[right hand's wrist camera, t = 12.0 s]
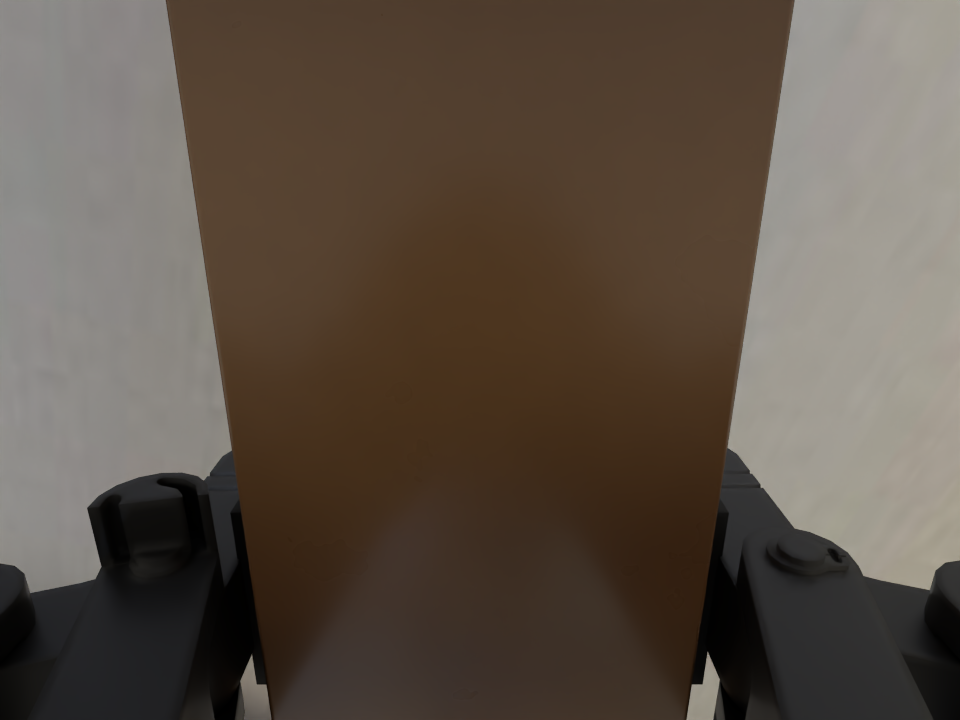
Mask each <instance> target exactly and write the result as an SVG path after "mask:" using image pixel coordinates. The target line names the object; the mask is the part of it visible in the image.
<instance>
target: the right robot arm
mask: <svg viewBox="0 0 960 720" xmlns="http://www.w3.org/2000/svg"><path fill="white" fill-rule="evenodd" d="M87 509H88V513H89V517H90V521H91V525H92V530H93V534H94V538H95V542H96V546H97V550H98V554H99V558H100V562H101V566H102V567H101V569H100V571H99V573H98V575H97V577H96V579H95V580H91V581H87V582H83V583H79V584H74V585H69V586H64V587H59V588H54V589H49V590H44V591H39V592H35V593H30V591H29V588H28V585H27V581H26V578H25V575H24V573H23V572H21V571H20V570H19V569H18V568H17V567H15V566H12V565H5V564H0V720H243V719H244V711H245V709H244V702H243V695H242V689H241V683H240V680H241V678H242V676H243V673H244V671H245V669H246V666H247V664H248V662H249V659H250V657H251V655H252V656H253V663H254V669H255V675H256V682H257V684H266V677H265V670H264V664H263V657H262V650H261V643H260V636H259V630H258V623H257V616H256V609H255V602H254V596H253V589H252V582H251V575H250V568H249V562H248V555H247V548H246V541H245V534H244V528H243V521H242V514H241V507H240V500H239V494H238V487H237V480H236V473H235V466H234V460H233V453H232V451H230V452H229V453H227V454H226V455H224V456H223V457H222V458H221V459H220V461H219V462H218V463H217V465H216V466H215V467H214V468H213V470H212V471H211V472H210V476H207V478H206V479H205V480H204V481H203V480H202V479H201V478H199V477H198V476H194V475H189V474H185V473H159V474H154V475H149V476H144V477H139V478H136V479H133V480H130V481H128V482H125V483H122V484H119V485H117V486H115V487H113V488H112V489H110V490H108V491H106V492H105V493H103V494H101V495H100V496H98V497H97V498H96V499H95V500H94V501H93V503H92V504H91V505H90V506H89V507H88V508H87ZM707 652H708V653H709V655H710V658H711V660H712V662H713V665H714V667H715V669H716V672H717V674H718V676H719V678H720V683H719V689H718V695H717V701H716V707H715V713H714V719H713V720H960V561H954V562H948V563H945V564H943V565H942V566H941V567H940V568H938V569H937V570H936V571H935V575H934V578H933V582H932V585H931V588H930V590H925V589H920V588H915V587H910V586H905V585H900V584H895V583H890V582H885V581H880V580H876V579H872V578H869V577H865V576H863V574H862V572H861V570H860V568H859V566H858V565H857V564H856V562H855V561H854V560H853V559H852V557H851V556H850V555H849V554H848V553H847V552H846V551H845V550H843V549H842V548H840V547H839V546H837V545H836V544H834V543H833V542H831V541H830V540H827V539H825V538H822V537H820V536H818V535H815V534H813V533H811V532H807V531H802V530H798V529H794V527H793V526H792V525H791V524H790V522H789V521H788V520H787V518H786V517H785V516H784V514H783V513H782V512H781V511H780V509H779V508H778V507H777V505H776V504H775V503H774V502H773V500H772V499H771V498H770V496H769V495H768V494H767V492H766V491H765V490H764V489H763V488H761V487H760V483H759V482H758V481H757V480H756V478H755V477H754V476H753V474H750V470H749V469H748V468H747V467H746V465H745V464H744V463H743V461H742V460H741V459H740V458H739V456H738V455H737V454H736V453H734V452H733V451H731V450H730V449H728V448H727V453H726V459H725V466H724V473H723V479H722V486H721V493H720V499H719V506H718V512H717V519H716V526H715V532H714V539H713V546H712V552H711V559H710V566H709V572H708V579H707V586H706V592H705V599H704V606H703V612H702V619H701V626H700V632H699V639H698V646H697V652H696V659H695V666H694V672H693V679H692V684H703V677H704V671H705V665H706V658H707Z"/></svg>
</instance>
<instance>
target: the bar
mask: <svg viewBox="0 0 960 720" xmlns="http://www.w3.org/2000/svg"><path fill="white" fill-rule="evenodd" d="M166 4H167V11H168V18H169V25H170V31H171V38H172V45H173V52H174V59H175V65H176V72H177V79H178V86H179V93H180V99H181V106H182V113H183V120H184V127H185V133H186V140H187V147H188V154H189V161H190V167H191V174H192V181H193V188H194V195H195V201H196V208H197V215H198V222H199V229H200V235H201V242H202V249H203V256H204V263H205V269H206V276H207V283H208V290H209V296H210V303H211V310H212V317H213V324H214V330H215V337H216V344H217V351H218V358H219V364H220V371H221V378H222V385H223V392H224V398H225V405H226V412H227V419H228V426H229V432H230V439H231V446H232V453H233V460H234V466H235V473H236V480H237V487H238V494H239V500H240V507H241V514H242V521H243V528H244V534H245V541H246V548H247V555H248V562H249V568H250V575H251V582H252V589H253V596H254V602H255V609H256V616H257V623H258V630H259V636H260V643H261V650H262V657H263V664H264V670H265V677H266V684H267V691H268V698H269V704H270V711H271V718H272V720H686V719H687V712H688V705H689V699H690V692H691V685H692V679H693V672H694V666H695V659H696V652H697V646H698V639H699V632H700V626H701V619H702V612H703V606H704V599H705V592H706V586H707V579H708V572H709V566H710V559H711V552H712V546H713V539H714V532H715V526H716V519H717V512H718V506H719V499H720V493H721V486H722V479H723V473H724V466H725V459H726V453H727V446H728V439H729V433H730V426H731V419H732V413H733V406H734V399H735V393H736V386H737V379H738V373H739V366H740V359H741V353H742V346H743V339H744V333H745V326H746V320H747V313H748V306H749V300H750V293H751V286H752V280H753V273H754V266H755V260H756V253H757V246H758V240H759V233H760V226H761V220H762V213H763V206H764V200H765V193H766V186H767V180H768V173H769V167H770V160H771V153H772V147H773V140H774V133H775V127H776V120H777V113H778V107H779V100H780V93H781V87H782V80H783V73H784V67H785V60H786V53H787V47H788V40H789V33H790V27H791V20H792V13H793V7H794V0H166Z"/></svg>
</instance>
